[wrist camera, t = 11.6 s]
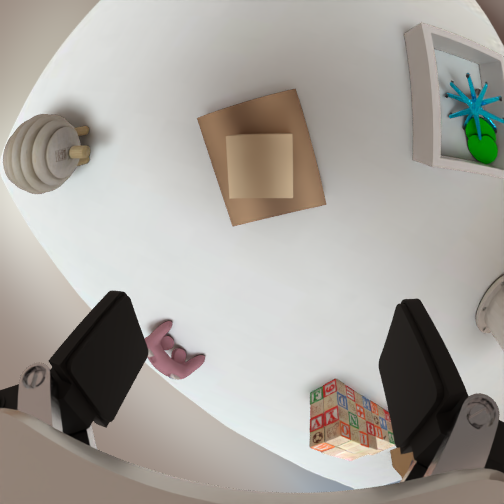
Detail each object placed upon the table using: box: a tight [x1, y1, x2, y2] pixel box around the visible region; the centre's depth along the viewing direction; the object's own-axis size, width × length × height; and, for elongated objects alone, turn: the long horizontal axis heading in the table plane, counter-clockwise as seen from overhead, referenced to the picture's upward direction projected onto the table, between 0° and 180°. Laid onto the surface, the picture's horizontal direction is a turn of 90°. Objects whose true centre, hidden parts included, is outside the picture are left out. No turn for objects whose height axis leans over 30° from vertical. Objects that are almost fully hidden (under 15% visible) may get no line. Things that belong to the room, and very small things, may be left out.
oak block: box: [226, 133, 293, 199], centre depth 23 cm, size 5×5×6 cm
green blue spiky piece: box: [445, 73, 504, 164], centre depth 20 cm, size 12×7×8 cm
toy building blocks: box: [390, 447, 414, 479], centre depth 47 cm, size 12×19×25 cm, turn 38°
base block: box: [197, 89, 326, 226], centre depth 27 cm, size 10×12×4 cm
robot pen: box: [404, 23, 504, 179], centre depth 20 cm, size 13×16×5 cm
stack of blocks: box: [310, 379, 395, 461], centre depth 41 cm, size 21×6×12 cm, turn 49°
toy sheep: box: [3, 114, 90, 194], centre depth 25 cm, size 11×17×11 cm, turn 89°
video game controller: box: [145, 321, 205, 379], centre depth 41 cm, size 10×5×7 cm, turn 34°
